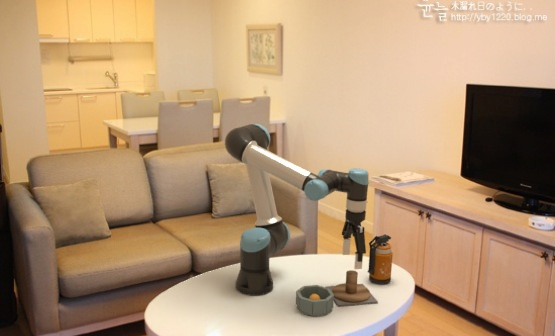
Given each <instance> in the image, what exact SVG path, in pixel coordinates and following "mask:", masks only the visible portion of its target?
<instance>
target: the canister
mask: <svg viewBox="0 0 555 336" xmlns="http://www.w3.org/2000/svg"><path fill="white" fill-rule="evenodd" d="M391 239H392V237H391V236H390V235H388V234H383V235H378V236H377V235H375V236H374V237H373V238H372V239H371V241H369V242H368V245H369V246H368V247H369V257H368V258H369V259H368V269H367V273H368V279H369V281H371V282H374V283H376V284H382V285H383V284H388V283H389V282H391V280H392V279H391V278H392V268H393V267H392V266H393V255H394V254H393V251H392V250H393V249H392V245H391V244H390V243H389V240H391Z"/></svg>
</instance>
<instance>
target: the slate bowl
mask: <svg viewBox="0 0 555 336" xmlns="http://www.w3.org/2000/svg"><path fill="white" fill-rule="evenodd" d="M312 294H317V295H319V297H320V299H321V300H311V299H309V297H310V296H311V295H312ZM334 304H335V302H334V294H333V293H332V291H331V290H330V289H329V288H326V286H322V285H319V284H313V285H310V284H309V285H303V286H301V287H300V288H298V289H297V290H296V292H295V305H296V309H297V311H298V310H299V311H298V312H299V313H301V314H302V313H303V314H302V315H305V316H308V315H310V317H323V316H327V315H329V314H330V313H331V312H332V311H333V309H334Z"/></svg>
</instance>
